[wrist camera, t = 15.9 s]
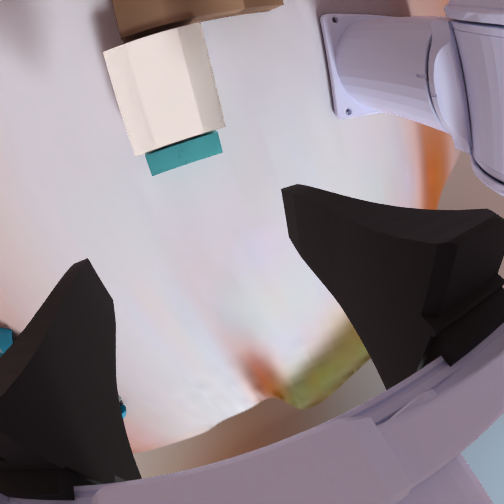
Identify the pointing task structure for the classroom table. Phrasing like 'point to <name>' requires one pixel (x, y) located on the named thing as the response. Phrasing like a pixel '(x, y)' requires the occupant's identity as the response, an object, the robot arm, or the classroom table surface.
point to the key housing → (165, 87)
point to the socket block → (178, 13)
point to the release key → (183, 152)
